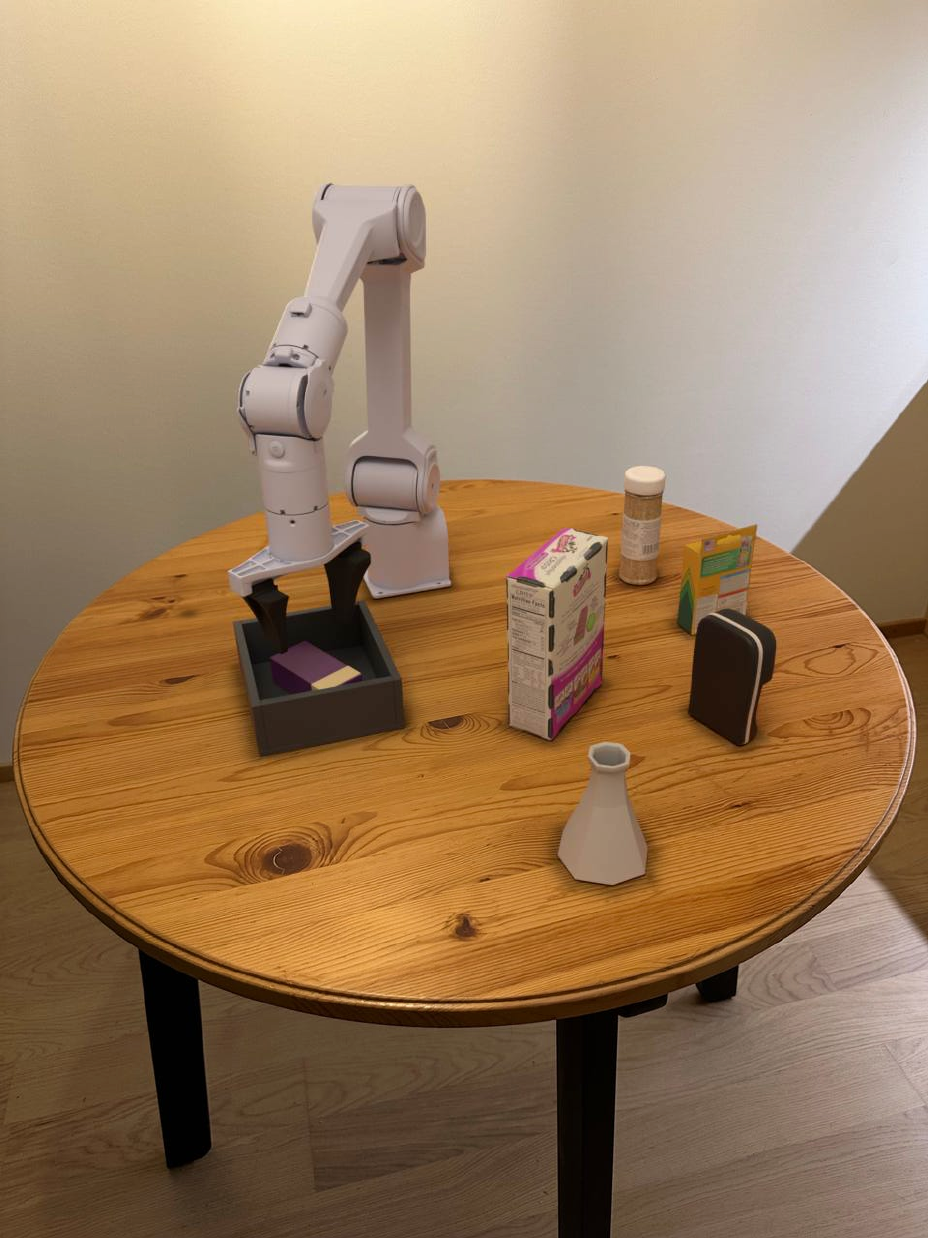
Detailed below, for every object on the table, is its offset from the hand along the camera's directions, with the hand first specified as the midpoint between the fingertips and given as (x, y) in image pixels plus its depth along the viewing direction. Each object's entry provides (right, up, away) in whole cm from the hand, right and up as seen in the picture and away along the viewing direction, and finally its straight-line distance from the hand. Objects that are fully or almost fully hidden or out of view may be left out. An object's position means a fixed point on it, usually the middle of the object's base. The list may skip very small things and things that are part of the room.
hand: (311, 633), depth 95 cm
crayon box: (+42, +1, +15) cm, 44 cm away
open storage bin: (0, -6, +4) cm, 7 cm away
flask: (+26, -17, -16) cm, 35 cm away
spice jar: (+35, +6, +24) cm, 43 cm away
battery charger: (+39, -9, -1) cm, 40 cm away
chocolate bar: (0, -6, +3) cm, 7 cm away
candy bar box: (+23, -7, +2) cm, 25 cm away
